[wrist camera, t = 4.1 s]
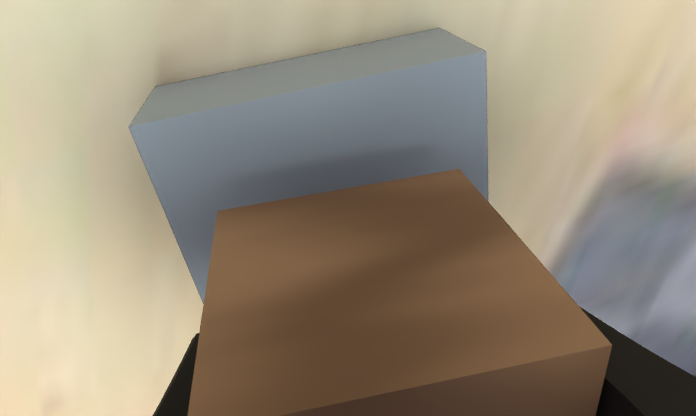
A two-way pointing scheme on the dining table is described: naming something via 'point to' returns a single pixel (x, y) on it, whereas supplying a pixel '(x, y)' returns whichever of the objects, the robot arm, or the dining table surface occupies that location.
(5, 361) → the dining table surface
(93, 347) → the dining table surface
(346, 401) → the walnut cube
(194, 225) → the base block
